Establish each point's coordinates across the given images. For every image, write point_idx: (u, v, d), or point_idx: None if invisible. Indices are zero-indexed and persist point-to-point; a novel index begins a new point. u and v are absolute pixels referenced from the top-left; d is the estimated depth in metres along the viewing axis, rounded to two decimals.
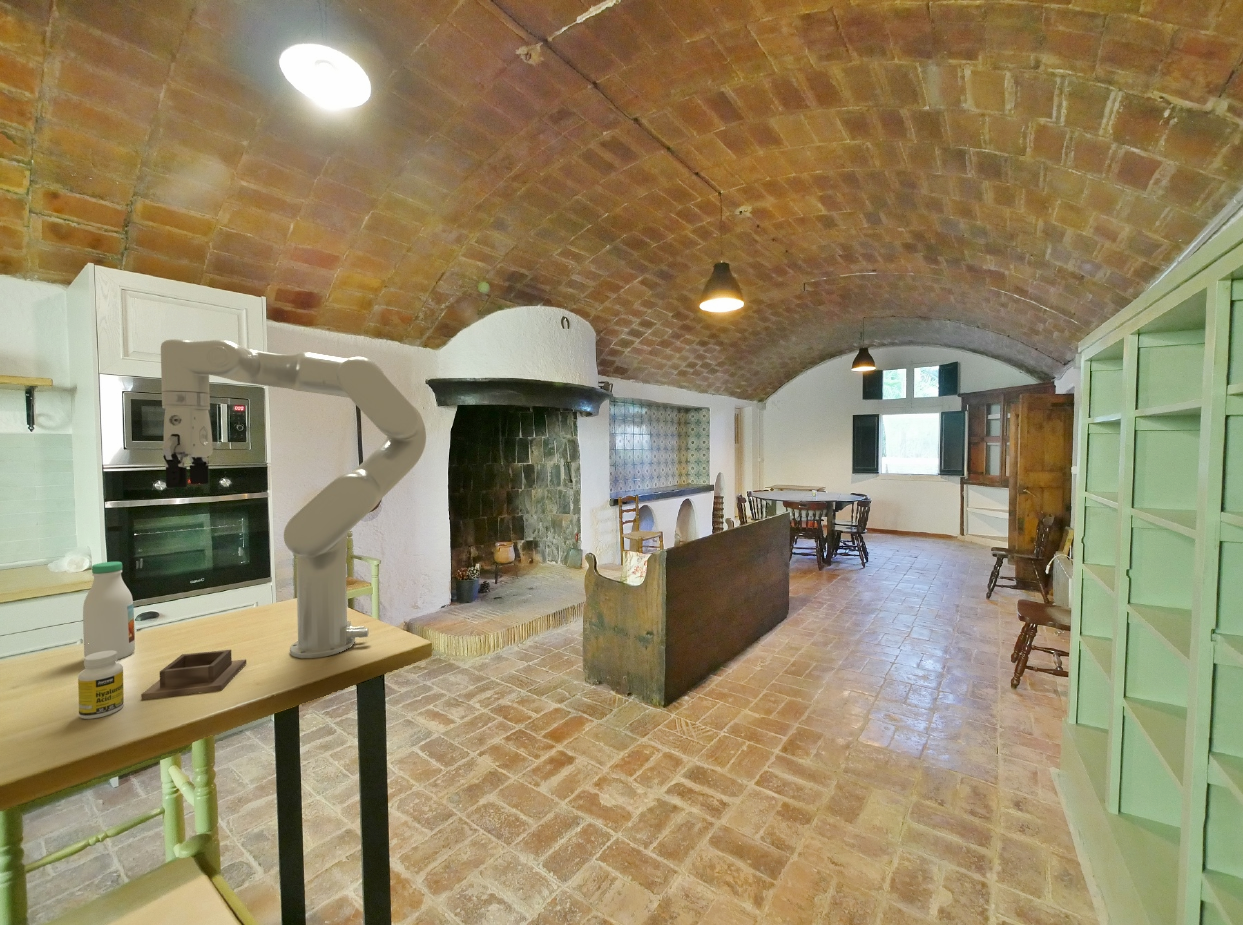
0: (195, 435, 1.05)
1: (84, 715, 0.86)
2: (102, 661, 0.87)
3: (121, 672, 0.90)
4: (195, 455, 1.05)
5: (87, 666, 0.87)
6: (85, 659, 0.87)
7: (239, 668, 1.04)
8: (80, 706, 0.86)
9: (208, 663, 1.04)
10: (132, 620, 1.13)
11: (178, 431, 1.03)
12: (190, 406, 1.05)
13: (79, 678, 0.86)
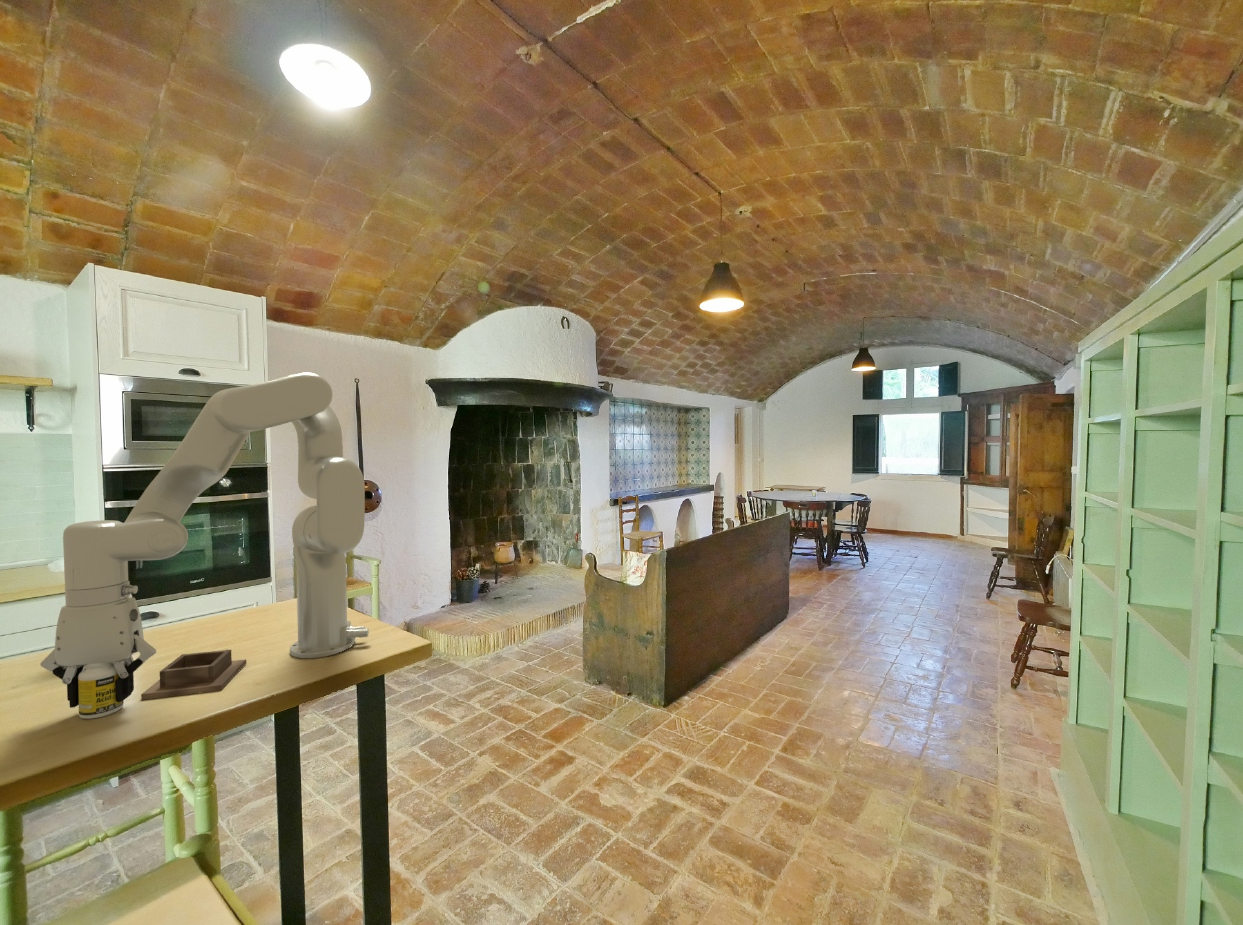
0: None
1: (84, 715, 0.86)
2: None
3: None
4: None
5: (87, 666, 0.87)
6: None
7: (239, 668, 1.04)
8: (80, 706, 0.86)
9: (208, 663, 1.04)
10: None
11: (137, 626, 0.90)
12: None
13: (79, 678, 0.86)
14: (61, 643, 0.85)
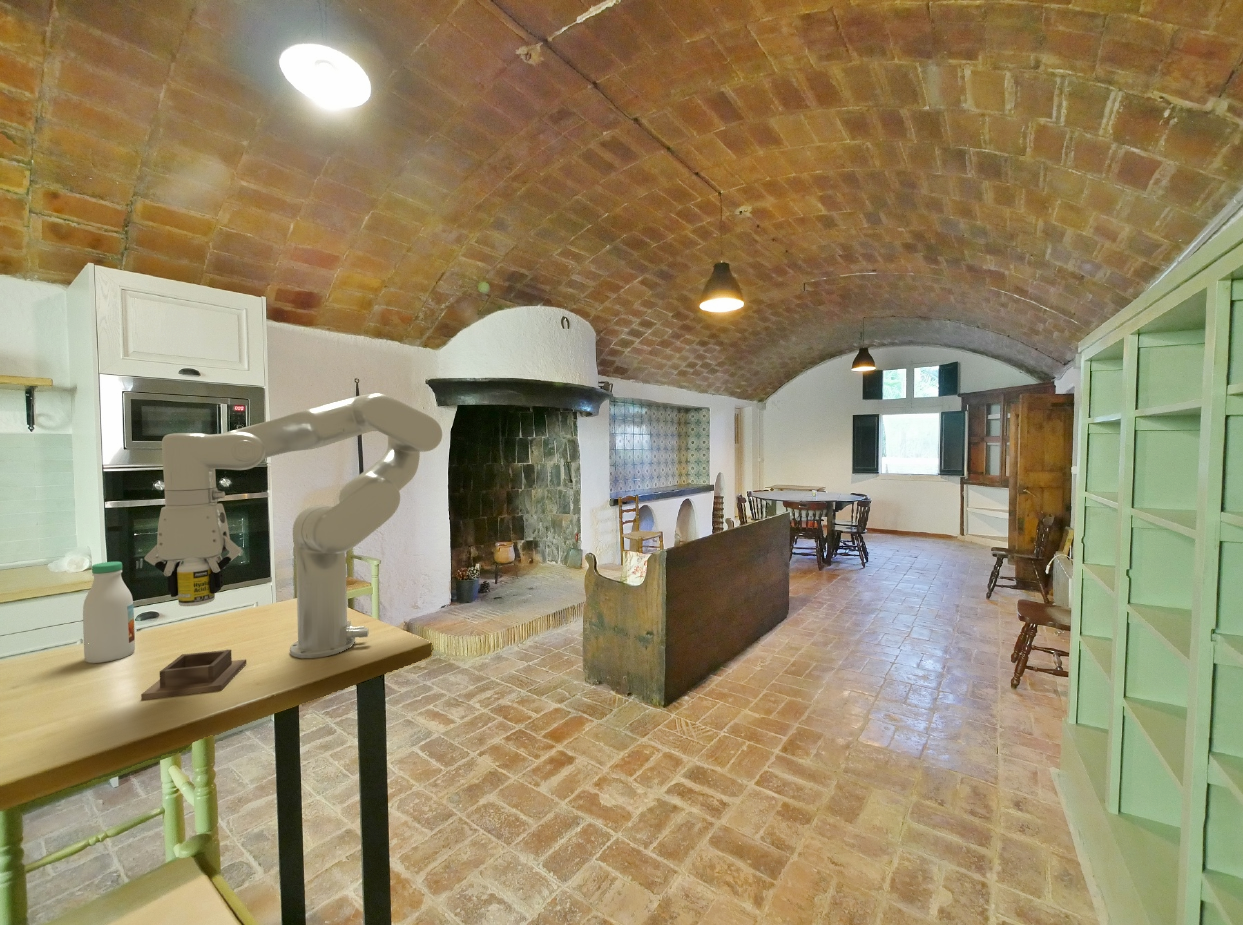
0: None
1: (184, 603, 0.97)
2: None
3: None
4: None
5: (185, 560, 0.98)
6: None
7: (239, 668, 1.04)
8: (180, 595, 0.97)
9: (208, 663, 1.04)
10: (132, 620, 1.13)
11: (225, 528, 1.01)
12: None
13: (178, 570, 0.97)
14: (163, 539, 0.96)
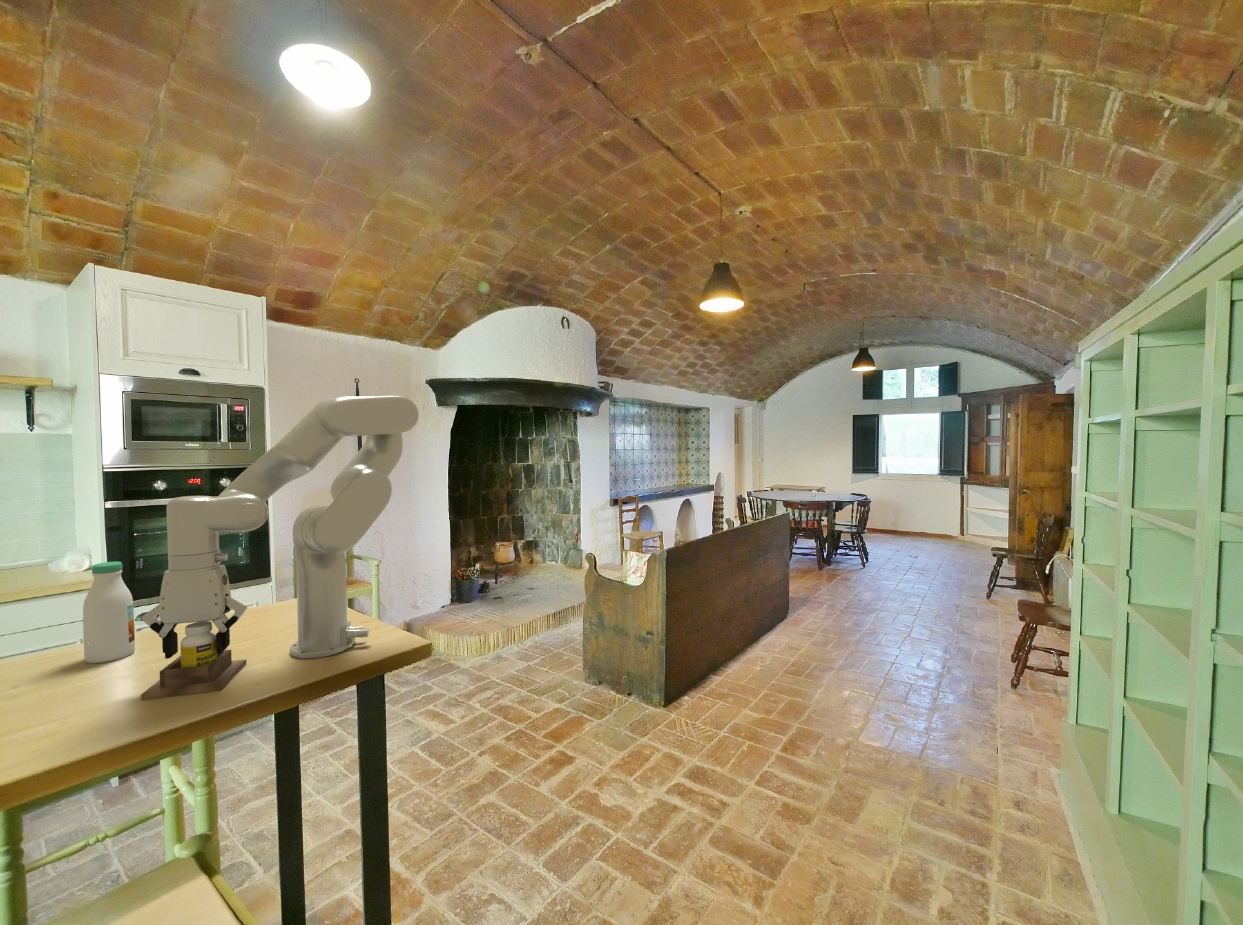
0: None
1: None
2: (201, 630, 0.99)
3: (215, 640, 1.01)
4: None
5: (188, 634, 0.98)
6: (186, 628, 0.98)
7: (239, 668, 1.04)
8: None
9: None
10: (132, 620, 1.13)
11: (227, 590, 1.02)
12: None
13: (182, 644, 0.98)
14: (165, 603, 0.97)
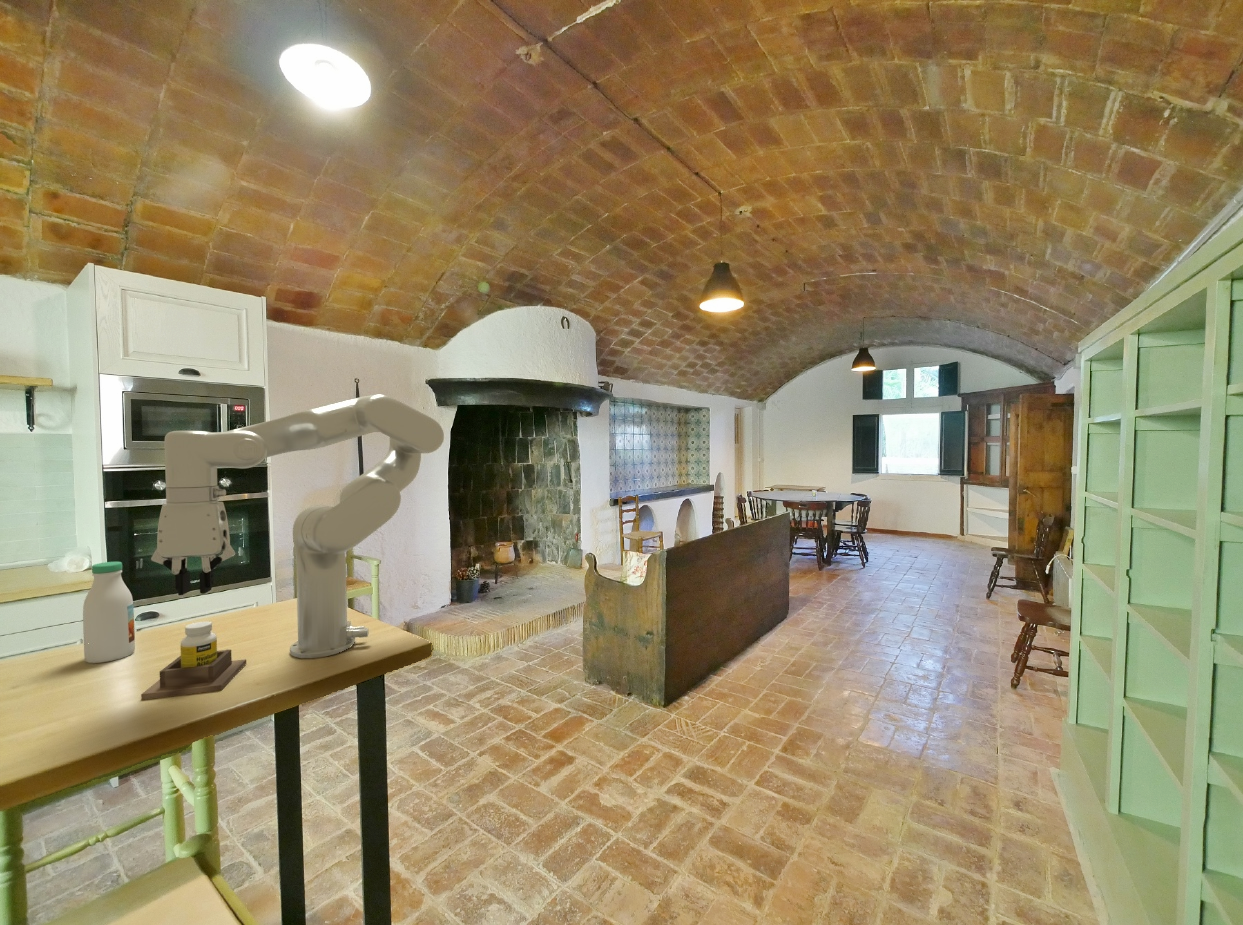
0: None
1: None
2: (201, 630, 0.99)
3: (215, 640, 1.01)
4: None
5: (188, 634, 0.98)
6: (186, 628, 0.99)
7: (239, 668, 1.04)
8: None
9: None
10: (132, 620, 1.13)
11: (225, 526, 1.01)
12: None
13: (182, 644, 0.98)
14: (163, 536, 0.96)
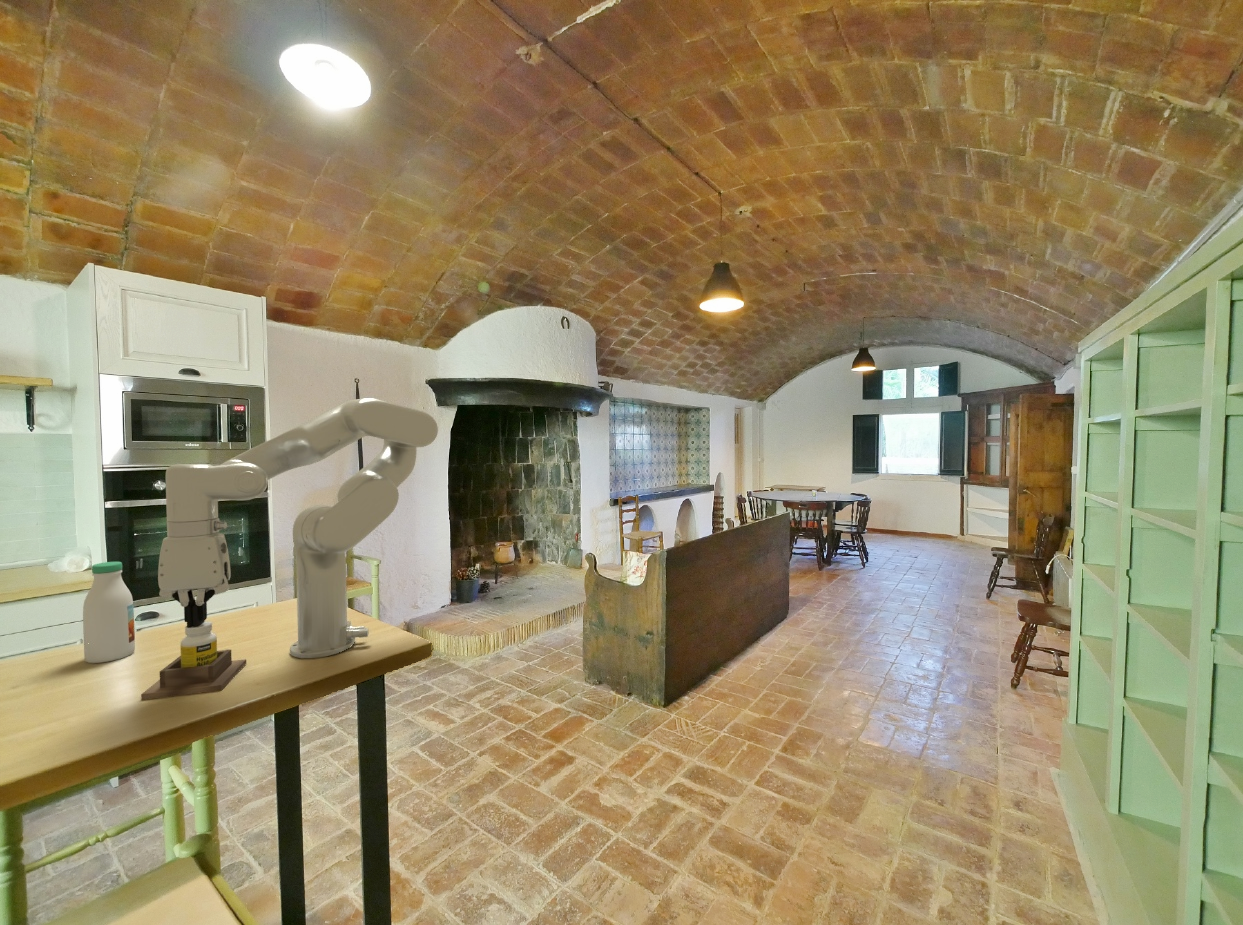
0: None
1: None
2: (201, 630, 0.99)
3: (215, 640, 1.01)
4: None
5: (188, 634, 0.98)
6: (186, 628, 0.98)
7: (239, 668, 1.04)
8: None
9: None
10: (132, 620, 1.13)
11: (226, 558, 1.02)
12: None
13: (182, 644, 0.98)
14: (164, 570, 0.96)
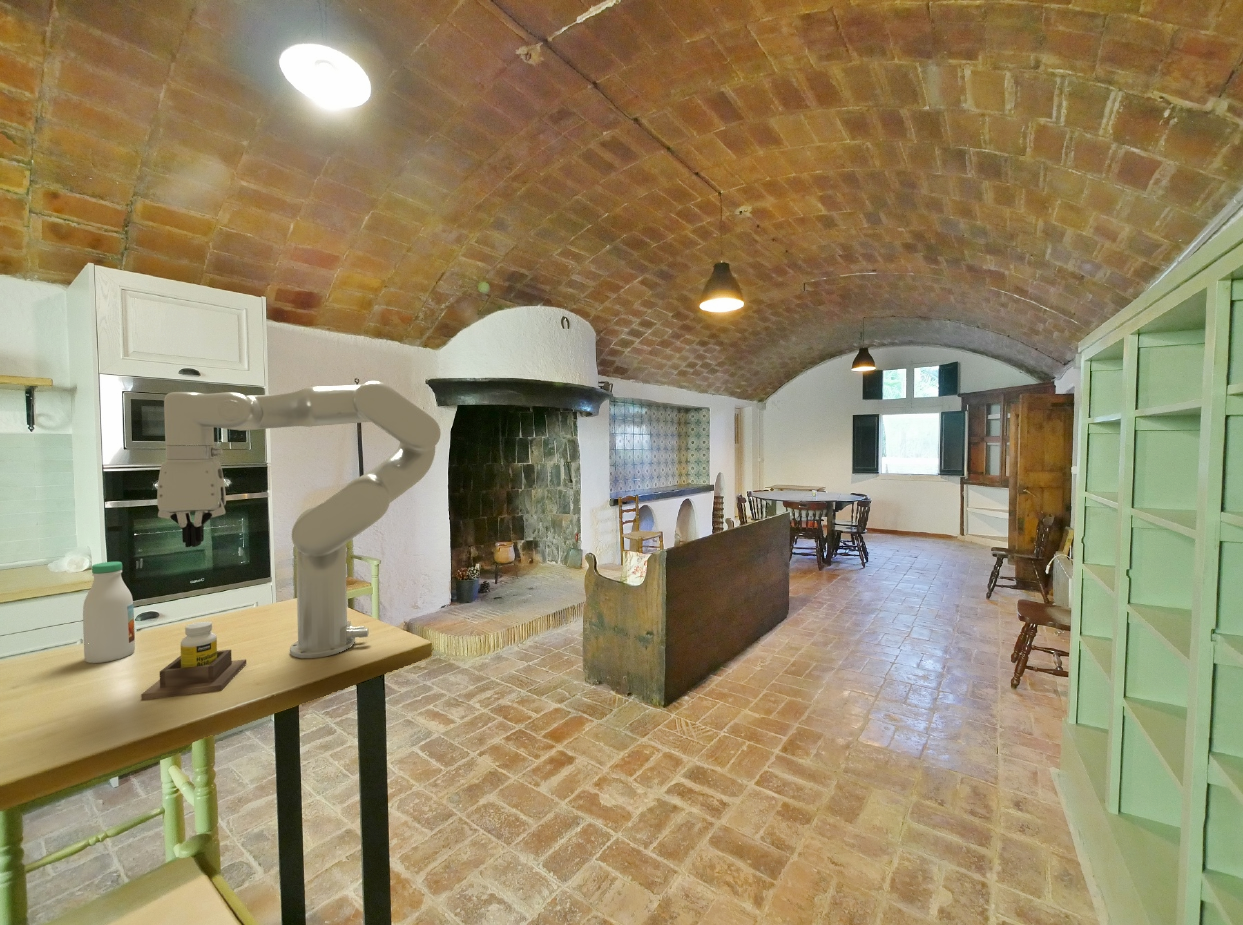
0: None
1: None
2: (201, 630, 0.99)
3: (216, 640, 1.01)
4: None
5: (188, 634, 0.98)
6: (187, 628, 0.98)
7: (239, 668, 1.04)
8: None
9: None
10: (132, 620, 1.13)
11: (222, 484, 1.07)
12: None
13: (182, 644, 0.98)
14: (163, 491, 1.02)
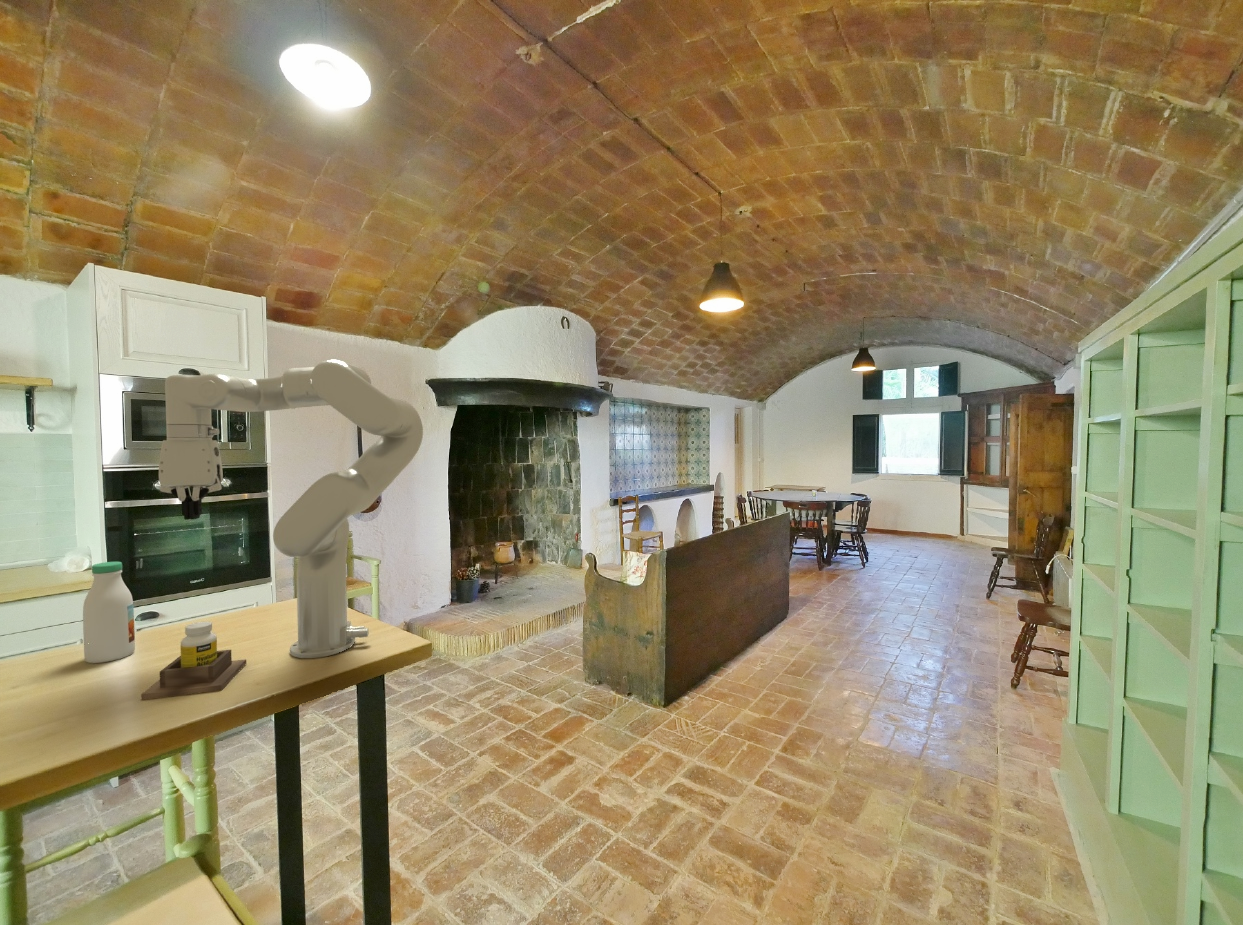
0: None
1: None
2: (201, 630, 0.99)
3: (215, 640, 1.01)
4: None
5: (188, 634, 0.98)
6: (186, 628, 0.98)
7: (239, 668, 1.04)
8: None
9: None
10: (132, 620, 1.13)
11: (219, 461, 1.15)
12: None
13: (182, 644, 0.98)
14: (164, 467, 1.10)
